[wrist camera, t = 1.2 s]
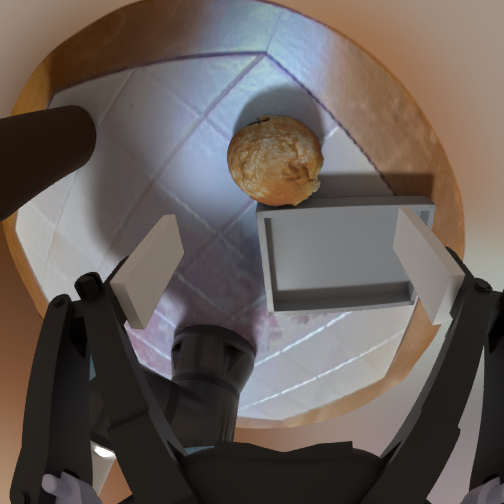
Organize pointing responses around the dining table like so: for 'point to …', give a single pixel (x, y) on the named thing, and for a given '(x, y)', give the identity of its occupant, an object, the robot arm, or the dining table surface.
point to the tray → (335, 254)
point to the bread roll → (275, 160)
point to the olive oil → (41, 152)
